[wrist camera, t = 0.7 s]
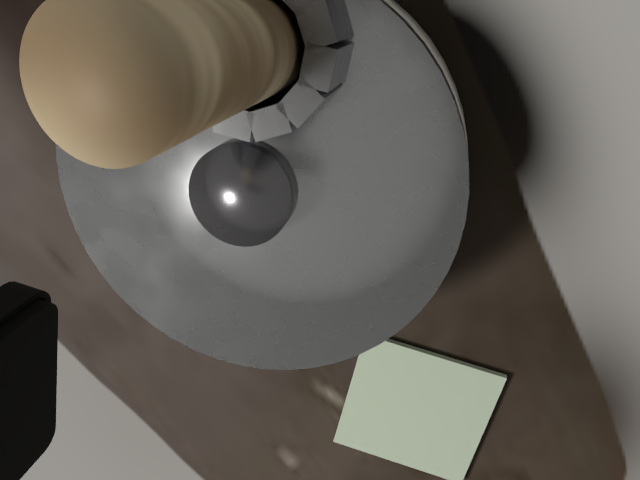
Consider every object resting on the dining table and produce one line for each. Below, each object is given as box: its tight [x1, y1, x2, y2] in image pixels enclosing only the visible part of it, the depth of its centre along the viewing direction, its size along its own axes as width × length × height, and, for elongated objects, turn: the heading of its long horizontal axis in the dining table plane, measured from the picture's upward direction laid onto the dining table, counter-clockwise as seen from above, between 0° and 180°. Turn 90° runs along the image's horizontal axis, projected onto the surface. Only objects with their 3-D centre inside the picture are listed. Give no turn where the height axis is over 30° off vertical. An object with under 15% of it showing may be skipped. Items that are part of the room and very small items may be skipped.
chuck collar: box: [56, 0, 469, 370], centre depth 28 cm, size 21×21×6 cm
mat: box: [333, 339, 507, 480], centre depth 38 cm, size 9×9×1 cm
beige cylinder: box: [19, 0, 305, 169], centre depth 20 cm, size 4×4×14 cm
